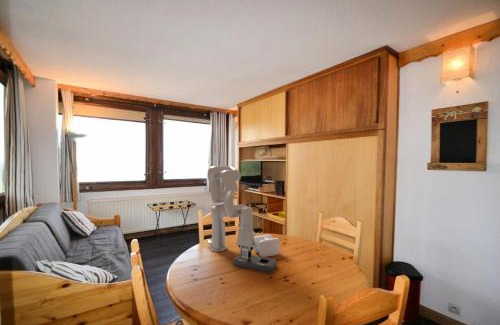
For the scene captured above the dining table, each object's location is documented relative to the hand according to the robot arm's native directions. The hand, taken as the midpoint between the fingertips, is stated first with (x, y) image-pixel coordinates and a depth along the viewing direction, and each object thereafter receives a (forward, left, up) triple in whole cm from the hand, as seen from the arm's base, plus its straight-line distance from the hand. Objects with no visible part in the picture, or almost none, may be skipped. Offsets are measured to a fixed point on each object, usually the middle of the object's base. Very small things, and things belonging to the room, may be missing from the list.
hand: (246, 256), depth 143 cm
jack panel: (+6, 0, -5) cm, 8 cm away
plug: (0, 0, -5) cm, 5 cm away
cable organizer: (+6, +20, -5) cm, 22 cm away
